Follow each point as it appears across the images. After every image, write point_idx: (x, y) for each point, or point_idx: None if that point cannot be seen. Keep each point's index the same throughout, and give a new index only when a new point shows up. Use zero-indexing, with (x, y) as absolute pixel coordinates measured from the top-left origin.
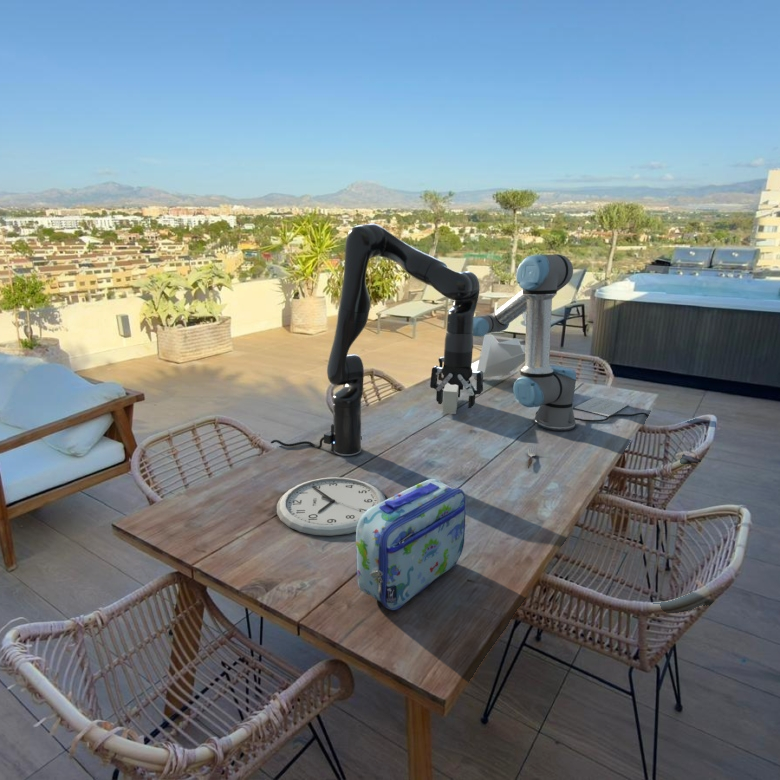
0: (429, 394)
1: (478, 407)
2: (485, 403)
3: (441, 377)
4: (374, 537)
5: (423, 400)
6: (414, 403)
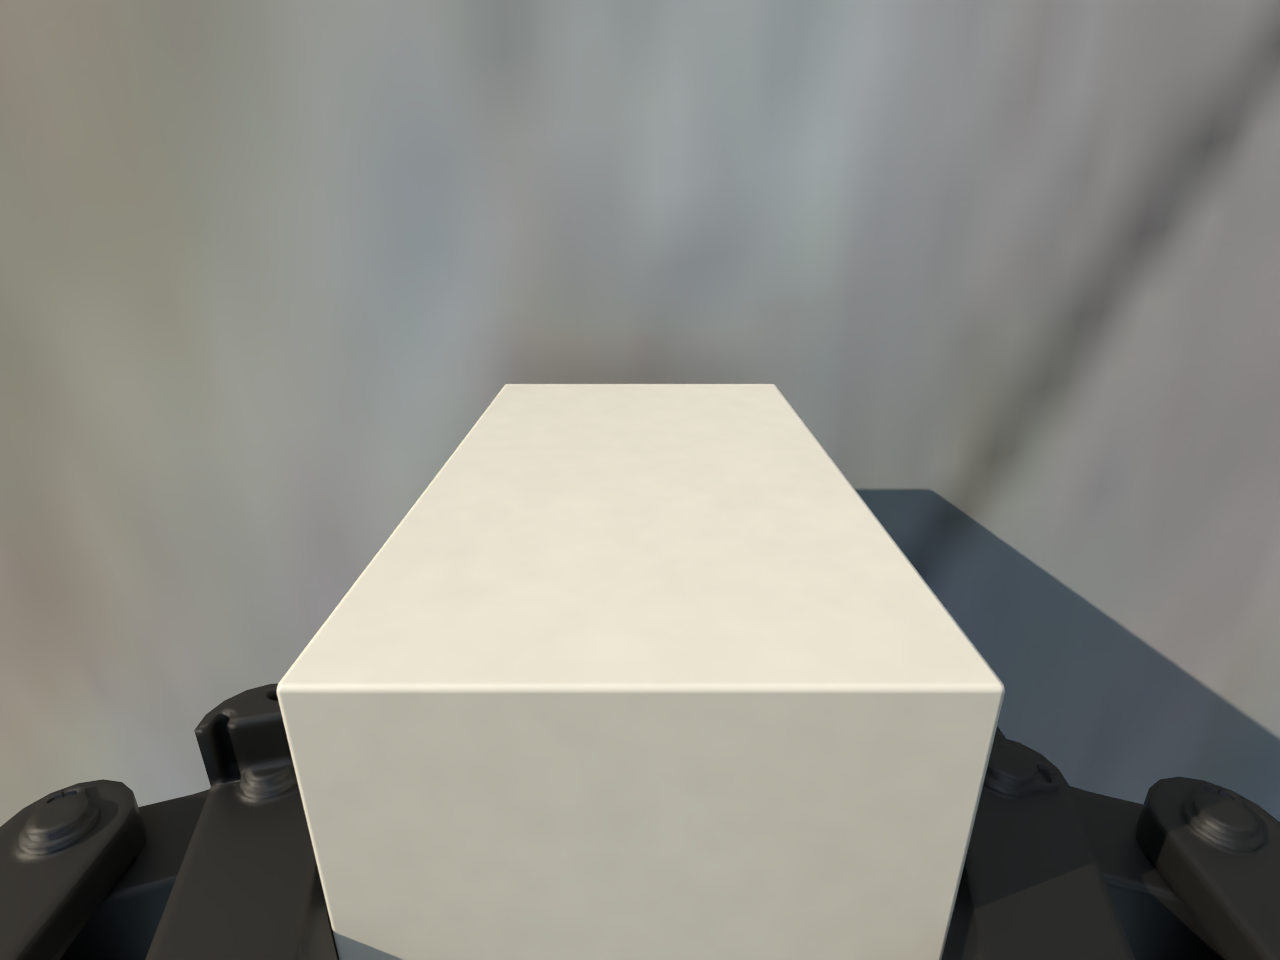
0: (129, 239)
1: (1064, 758)
2: (1241, 564)
3: (140, 952)
4: None
5: (156, 623)
6: (80, 774)
